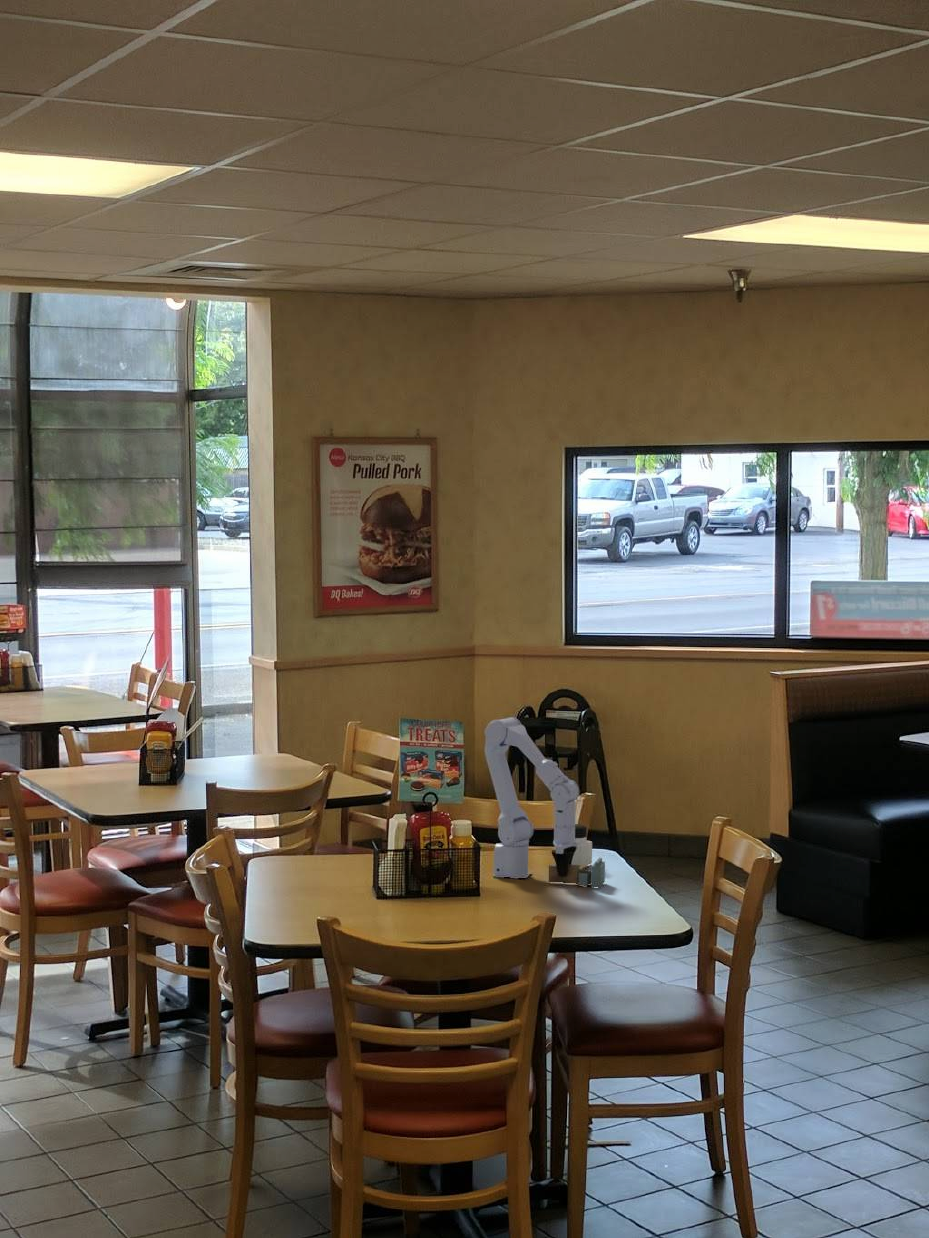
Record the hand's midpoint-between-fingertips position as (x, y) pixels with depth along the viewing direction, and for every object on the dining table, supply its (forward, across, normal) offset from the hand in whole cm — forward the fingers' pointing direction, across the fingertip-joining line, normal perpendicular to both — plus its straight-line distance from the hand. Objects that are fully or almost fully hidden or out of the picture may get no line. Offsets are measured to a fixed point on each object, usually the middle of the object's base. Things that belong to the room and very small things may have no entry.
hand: (563, 874), depth 398 cm
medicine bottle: (+3, +22, +1) cm, 22 cm away
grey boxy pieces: (+2, 0, -8) cm, 8 cm away
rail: (+2, 0, -2) cm, 3 cm away
